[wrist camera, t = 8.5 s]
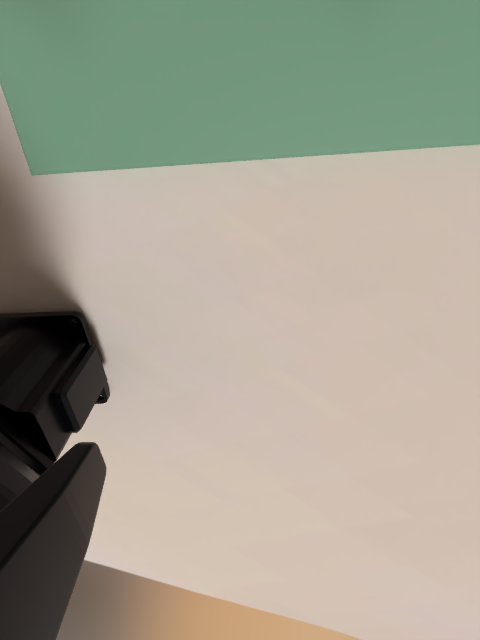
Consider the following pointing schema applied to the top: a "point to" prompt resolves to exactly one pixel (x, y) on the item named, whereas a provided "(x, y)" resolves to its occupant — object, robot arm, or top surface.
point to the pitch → (236, 79)
